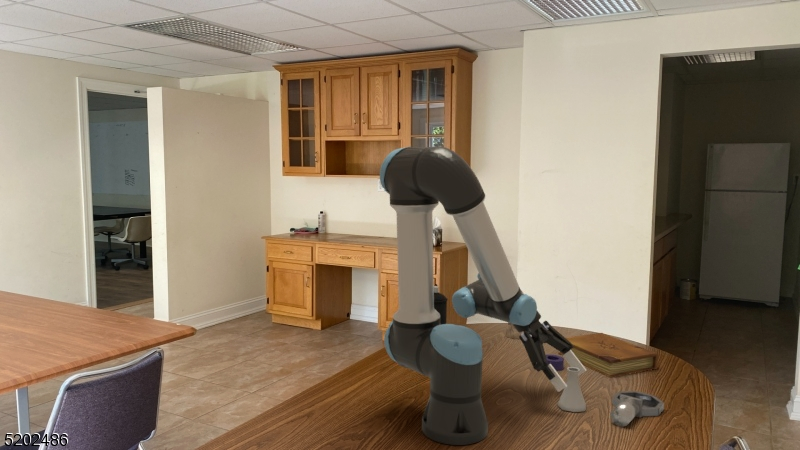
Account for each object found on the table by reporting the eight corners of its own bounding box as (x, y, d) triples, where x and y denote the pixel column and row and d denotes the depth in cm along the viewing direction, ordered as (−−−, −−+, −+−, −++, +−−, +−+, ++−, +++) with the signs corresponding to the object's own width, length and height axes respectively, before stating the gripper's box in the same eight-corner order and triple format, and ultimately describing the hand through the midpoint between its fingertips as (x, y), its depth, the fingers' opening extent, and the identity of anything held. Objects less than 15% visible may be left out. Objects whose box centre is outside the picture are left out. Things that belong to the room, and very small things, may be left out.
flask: (583, 402, 150) (585, 364, 149) (589, 414, 143) (591, 374, 142) (554, 400, 151) (556, 363, 150) (559, 412, 143) (561, 373, 142)
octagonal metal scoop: (644, 433, 132) (646, 414, 132) (595, 419, 139) (596, 401, 139) (667, 405, 148) (668, 388, 148) (621, 394, 155) (622, 378, 155)
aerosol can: (450, 343, 198) (452, 286, 196) (439, 349, 191) (440, 290, 189) (429, 339, 202) (431, 283, 200) (418, 345, 195) (419, 287, 193)
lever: (567, 370, 174) (568, 360, 174) (550, 372, 172) (551, 362, 171) (543, 357, 185) (543, 348, 185) (526, 360, 183) (527, 350, 182)
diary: (657, 371, 175) (658, 352, 175) (609, 379, 168) (611, 360, 167) (602, 348, 196) (603, 331, 196) (558, 355, 189) (558, 337, 188)
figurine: (514, 332, 212) (515, 300, 211) (530, 336, 207) (531, 304, 206) (502, 335, 208) (503, 303, 207) (517, 340, 202) (519, 306, 201)
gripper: (531, 311, 167) (579, 374, 159) (489, 331, 147) (542, 404, 140) (550, 296, 163) (600, 360, 156) (509, 315, 143) (565, 388, 136)
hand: (573, 381), depth 148 cm, fingers open, 13 cm apart
